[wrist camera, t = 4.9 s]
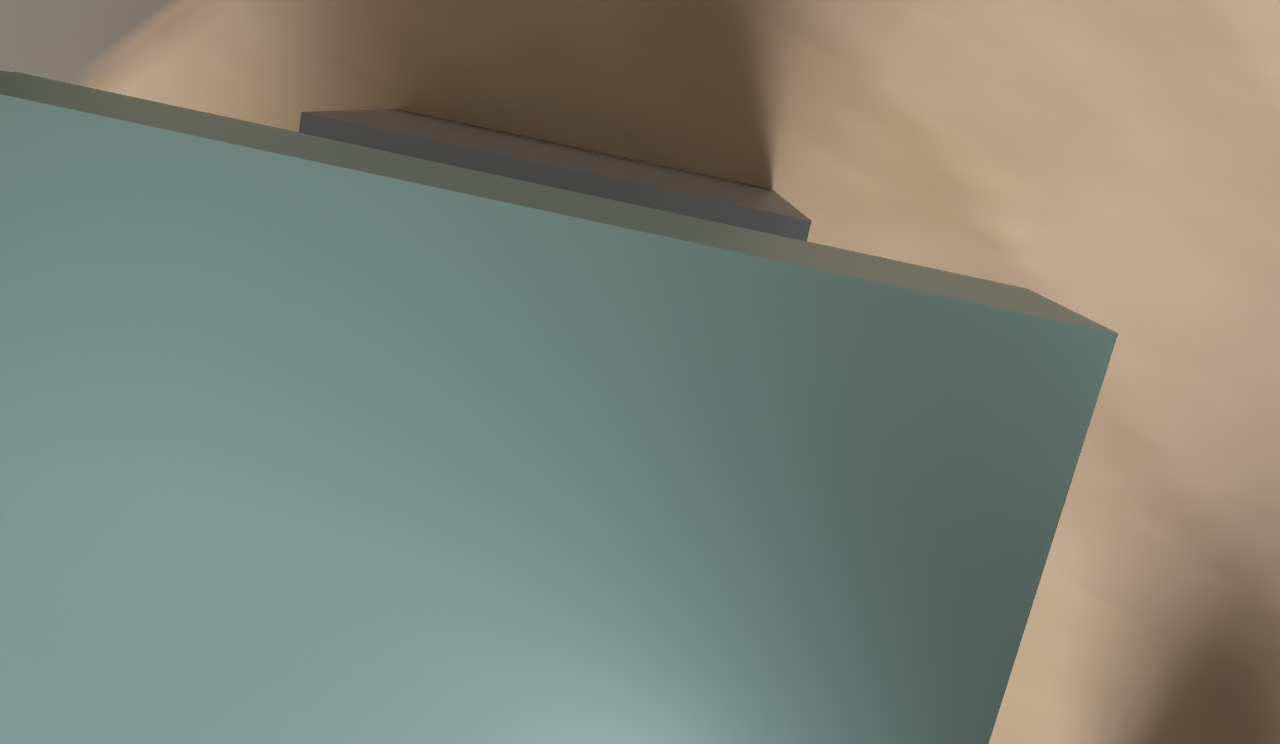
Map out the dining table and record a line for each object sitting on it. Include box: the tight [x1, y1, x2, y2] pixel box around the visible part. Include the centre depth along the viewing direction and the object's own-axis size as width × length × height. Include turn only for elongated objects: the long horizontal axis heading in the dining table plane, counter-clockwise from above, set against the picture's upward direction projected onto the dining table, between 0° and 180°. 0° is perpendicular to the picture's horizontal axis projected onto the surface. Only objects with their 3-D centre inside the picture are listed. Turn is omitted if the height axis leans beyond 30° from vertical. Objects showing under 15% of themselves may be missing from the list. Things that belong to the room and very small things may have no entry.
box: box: [299, 109, 811, 241], centre depth 24 cm, size 9×14×7 cm, turn 168°
